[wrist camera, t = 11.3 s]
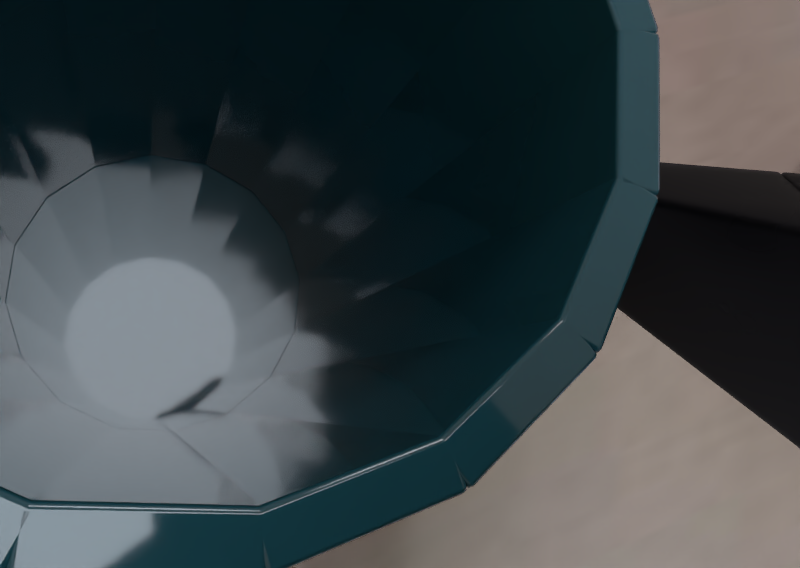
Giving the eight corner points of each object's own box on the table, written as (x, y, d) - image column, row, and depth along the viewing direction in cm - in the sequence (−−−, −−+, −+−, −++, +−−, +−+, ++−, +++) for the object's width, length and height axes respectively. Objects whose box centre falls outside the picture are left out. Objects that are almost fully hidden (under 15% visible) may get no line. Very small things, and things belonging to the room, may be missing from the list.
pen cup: (222, 497, 16) (445, 766, 4) (-76, 357, 15) (-1028, 161, 3) (353, 243, 18) (762, -64, 6) (102, 98, 17) (1, -678, 5)
